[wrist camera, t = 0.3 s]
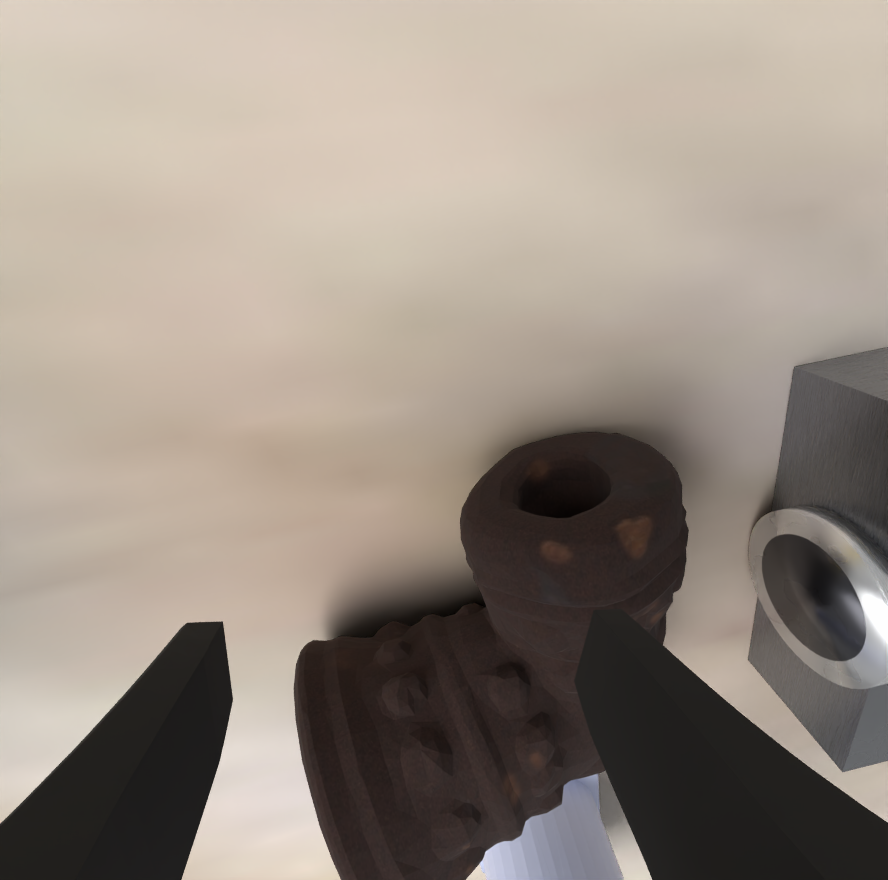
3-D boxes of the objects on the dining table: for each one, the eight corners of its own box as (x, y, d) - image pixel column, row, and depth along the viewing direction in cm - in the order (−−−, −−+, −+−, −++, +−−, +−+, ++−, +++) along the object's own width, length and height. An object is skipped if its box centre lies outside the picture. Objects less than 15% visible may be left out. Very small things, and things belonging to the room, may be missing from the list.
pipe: (791, 510, 13) (220, 792, 10) (754, 786, 20) (418, 987, 18) (582, 388, 21) (239, 528, 19) (610, 616, 28) (368, 737, 26)
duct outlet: (816, 643, 27) (953, 776, 21) (729, 664, 27) (840, 805, 20) (887, 347, 20) (1135, 412, 13) (768, 372, 19) (962, 450, 13)
